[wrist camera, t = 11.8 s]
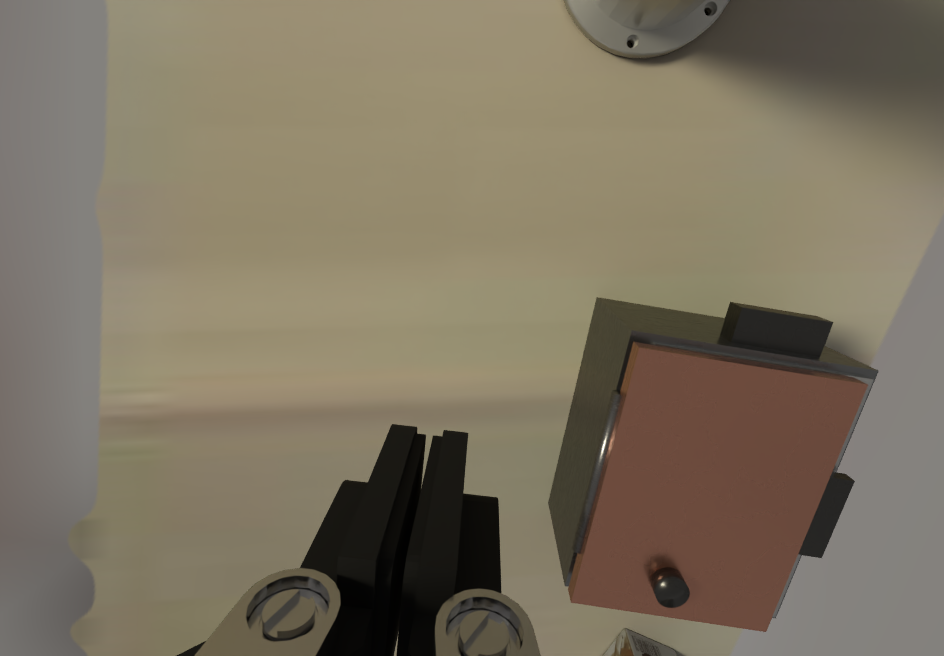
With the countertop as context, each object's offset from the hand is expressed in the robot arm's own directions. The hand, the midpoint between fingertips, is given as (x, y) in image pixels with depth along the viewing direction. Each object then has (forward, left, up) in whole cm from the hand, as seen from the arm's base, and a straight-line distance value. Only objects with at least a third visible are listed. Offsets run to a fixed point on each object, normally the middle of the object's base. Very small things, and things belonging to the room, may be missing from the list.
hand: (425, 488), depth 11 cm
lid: (+10, +18, -20) cm, 29 cm away
